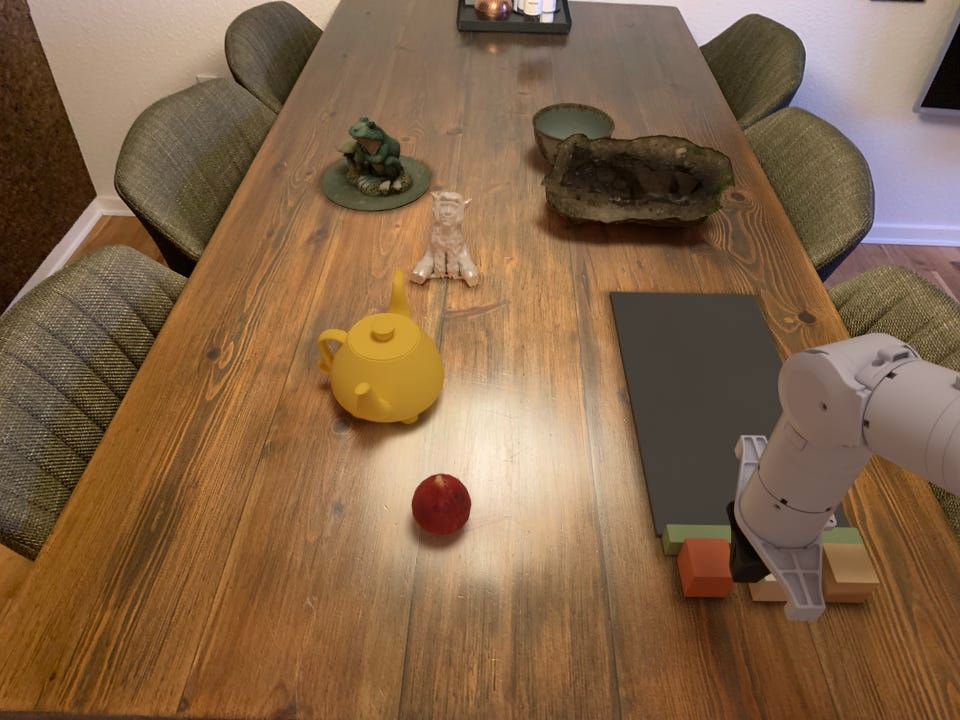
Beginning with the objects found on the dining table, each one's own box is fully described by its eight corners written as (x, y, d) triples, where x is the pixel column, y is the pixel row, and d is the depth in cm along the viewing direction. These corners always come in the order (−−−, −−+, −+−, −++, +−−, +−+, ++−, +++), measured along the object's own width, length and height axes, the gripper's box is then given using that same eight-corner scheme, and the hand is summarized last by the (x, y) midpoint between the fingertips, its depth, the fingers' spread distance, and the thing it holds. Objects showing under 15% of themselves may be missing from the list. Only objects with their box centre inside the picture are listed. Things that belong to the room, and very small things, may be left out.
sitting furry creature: (410, 285, 99) (406, 212, 90) (416, 248, 105) (412, 176, 96) (478, 288, 99) (480, 215, 90) (480, 251, 105) (482, 179, 96)
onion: (481, 517, 73) (483, 471, 67) (449, 560, 69) (449, 516, 64) (434, 492, 75) (432, 445, 69) (402, 532, 71) (397, 486, 66)
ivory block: (794, 601, 67) (809, 581, 64) (752, 601, 67) (765, 580, 64) (782, 563, 70) (795, 542, 67) (741, 562, 70) (754, 541, 67)
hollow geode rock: (709, 253, 114) (725, 160, 113) (729, 242, 101) (748, 136, 100) (535, 227, 116) (551, 135, 116) (534, 212, 103) (552, 109, 103)
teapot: (343, 331, 92) (332, 260, 84) (456, 343, 91) (456, 272, 83) (295, 454, 78) (276, 383, 70) (429, 470, 77) (425, 400, 69)
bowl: (613, 152, 126) (620, 109, 121) (601, 191, 117) (609, 146, 112) (538, 140, 129) (542, 97, 123) (521, 177, 120) (524, 133, 114)
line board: (859, 558, 71) (870, 545, 69) (659, 555, 70) (665, 541, 69) (752, 297, 99) (758, 283, 97) (609, 294, 99) (612, 280, 97)
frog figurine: (302, 173, 119) (291, 107, 110) (394, 143, 127) (390, 79, 118) (355, 224, 109) (347, 155, 101) (451, 188, 117) (451, 122, 108)
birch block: (862, 603, 67) (880, 583, 64) (820, 602, 67) (836, 582, 64) (847, 564, 70) (864, 543, 67) (807, 563, 70) (822, 542, 67)
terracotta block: (725, 597, 67) (738, 577, 65) (684, 597, 67) (694, 576, 64) (716, 559, 70) (727, 538, 67) (676, 558, 70) (685, 537, 67)
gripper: (902, 576, 43) (821, 665, 53) (822, 399, 54) (767, 500, 63) (787, 574, 43) (727, 663, 53) (730, 397, 54) (688, 499, 63)
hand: (743, 575), depth 58 cm, fingers closed
